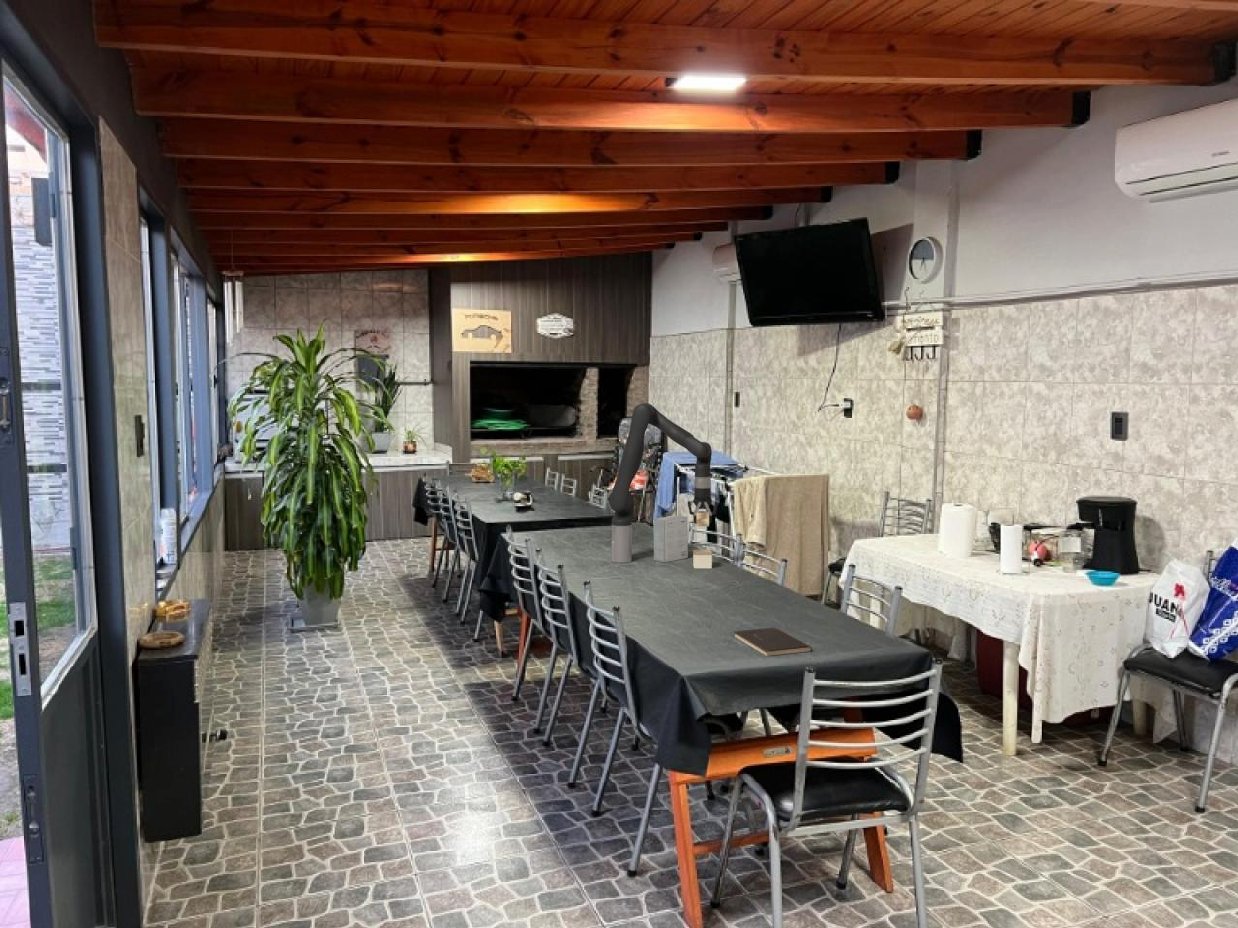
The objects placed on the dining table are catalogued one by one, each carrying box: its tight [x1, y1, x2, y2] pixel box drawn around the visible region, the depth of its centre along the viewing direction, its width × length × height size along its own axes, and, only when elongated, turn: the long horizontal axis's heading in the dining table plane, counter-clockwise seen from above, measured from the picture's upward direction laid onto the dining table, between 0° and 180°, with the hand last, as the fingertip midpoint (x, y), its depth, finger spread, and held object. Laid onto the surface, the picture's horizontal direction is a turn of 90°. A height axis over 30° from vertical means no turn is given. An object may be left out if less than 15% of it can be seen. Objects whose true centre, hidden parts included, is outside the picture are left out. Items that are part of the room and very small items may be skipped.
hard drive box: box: [653, 514, 689, 563], centre depth 436 cm, size 16×8×20 cm, turn 130°
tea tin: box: [692, 549, 713, 569], centre depth 420 cm, size 8×8×7 cm
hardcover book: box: [733, 627, 812, 657], centre depth 300 cm, size 16×23×2 cm
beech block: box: [695, 510, 710, 527], centre depth 418 cm, size 6×6×6 cm
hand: (702, 523), depth 419 cm, fingers closed on beech block, 5 cm apart
